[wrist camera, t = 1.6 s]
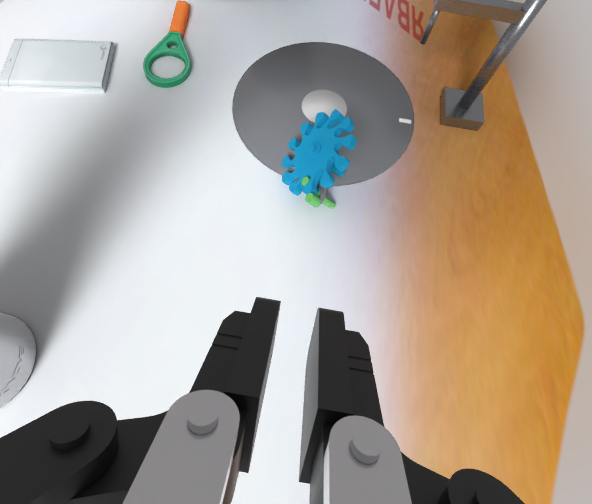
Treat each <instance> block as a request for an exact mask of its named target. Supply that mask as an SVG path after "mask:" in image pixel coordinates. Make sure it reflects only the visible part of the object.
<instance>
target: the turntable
mask: <svg viewBox="0 0 592 504" xmlns="http://www.w3.org/2000/svg"><path fill="white" fill-rule="evenodd" d="M335 109H336V110H338V111H339V112H340V113H341V114H342V115H343V116H344V119H345V118H346V117H349V118H350V119H351V120H352V121H353V122H354V130H353V131H351V132H349V133H347V132H342V133H341V134H340V135H339V137H338V138H342V137H345V136H347V135H350V134H351V135H353V136H354V137H355V138H356V139H357V143H356V146H355V148H354V149H353V150H348V149H347V148H346V147H345V146H341V147H340V148H339V151H338V152H339V155H340V156H344V157H345V158H347V159H348V160H349V161H350V164H349V166H348V167H347V168H346V169H345V174H344V175H343V176H342V177H339V176H338V175H336V174H335V173H334V172H332V171H331V174H332V177H333V178H334V180H335V182H334V185H332V186H342V185H350V184H354V183H359V182H363V181H365V180H368V179H370V178H373V177H375V176H377V175H379V174H381V173H382V172H384V171H385V170H387V169H388V168H390V167H391V166H392V165H393V164H394V163H395V162H396V161H397V160H398V159H399V158H400V157H401V156H402V154H403V153H404V151H405V150H406V148H407V146H408V144H409V142H410V140H411V136H412V133H413V127H414V112H413V107H412V103H411V100H410V98H409V95H408V93H407V91H406V89H405V88H404V86H403V85H402V83H401V82H400V80H399V79H398V78H397V77H396V76H395V75H394V74H393V72H392V71H390V70H389V69H388V68H387V67H386V66H385V65H383V64H382V63H381V62H379V61H378V60H376V59H375V58H373V57H371V56H369V55H367V54H365V53H363V52H361V51H358V50H356V49H353V48H350V47H347V46H343V45H338V44H332V43H323V42H309V43H299V44H293V45H289V46H285V47H282V48H279V49H277V50H274V51H272V52H270V53H268V54H266V55H264V56H263V57H261V58H260V59H259V60H257V61H256V62H255V63H254V64H253V65H251V66H250V67H249V68H248V70H247V71H246V72H245V73H244V74H243V76H242V78H241V79H240V81H239V83H238V85H237V87H236V90H235V93H234V98H233V109H232V110H233V118H234V123H235V126H236V129H237V132H238V134H239V136H240V138H241V140H242V141H243V143H244V144H245V146H246V147H247V149H248V150H249V151H250V152H251V153H252V154H253V155H254V156H255V157H256V158H257V159H258V160H259V161H260V162H262V163H263V164H264V165H265V166H267V167H268V168H270V169H272V170H273V171H275V172H277V173H279V174H281V175H283V173H285V172H289V173H292V172H293V171H294V170H295V167H291V168H289V169H286V168H285V167H283V166H282V165H281V163H282V160H283V158H284V156H289V157H290V158H292V159H294V158H295V156H296V153H295V151H293V150H292V149H290V148H289V147H288V143H289V142H290V141H291V139H292V138H293V137H294V138H296V139H297V140H298V141H300V144H301V142H302V132H301V131H300V126H301V125H303V124H304V123H306V122H309V123H310V124H311V125H312V126H313V127H314V125H315V117H316V115H317V113H320V112H324V113H326V114H327V115H328V116H329V117H330V115H331V113H332V112H333V111H334V110H335ZM344 119H343V120H344ZM339 124H340V123H339ZM339 124H336V125H334V126H333V127H336V126H337V125H339ZM299 179H300V177H299V178H297V179H295V181H298V180H299Z"/></svg>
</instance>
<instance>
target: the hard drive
mask: <svg viewBox="0 0 592 504" xmlns="http://www.w3.org/2000/svg"><path fill="white" fill-rule="evenodd" d="M114 50H115V46H114V44H113V42H103V41H75V40H44V39H14V41H13V43H12V46H11V49H10V51H9V54H8V57H7V59H6V62H5V65H4V67H3V70H2V73H1V76H0V88H1V89H2V90H3V91H40V92H90V93H105V91H106V87H107V82H108V78H109V73H110V69H111V64H112V60H113V55H114Z"/></svg>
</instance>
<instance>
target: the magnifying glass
mask: <svg viewBox="0 0 592 504" xmlns="http://www.w3.org/2000/svg"><path fill="white" fill-rule="evenodd" d="M189 11H190V5H189V4H188V3H187V2H185V1H178V2H177V4H176V8H175V12H174V15H173V19H172V23H171V27H170V30H169V33H168V34H167V35H166V36H165V37H164V38H163V39H162V40H161V41H160V42H159V43H158V44H157V45H156V46H155V47H154V48H153V49H152V50H151V51H150V52H149V53H148V54H147V56H146V57H145V59H144V63H143V68H144V71H145V75H146V77H147V79H148V80H149V81H150V82H151V83H152V84H154V85H156V86H159V87H173V86H176V85H179V84H181V83H182V82H183V81H185V80H186V79H187V77H188V76H189V74H190V72H191V62H190V59H189V56H188V54H187V51H186V49H185V46H184V44H183V41H182V38H183V35H184V32H185V27H186V23H187V19H188V15H189ZM170 46H177V47H176V48H173V49H170V48H169V47H170ZM164 56H175V57H178V58H180V59H182V60H183V61H184V63H185V64H186V66H185V69H184V71H183V72H182V73H181V74H180V75H178V76H176V77H174V78H169V79H163V78H158V77H156V76H154V75H153V74H152V73H151V72H150V67H151V65H152V63H153V62H154V61H155V60H157V59H158V58H160V57H164Z"/></svg>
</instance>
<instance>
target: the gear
mask: <svg viewBox="0 0 592 504" xmlns="http://www.w3.org/2000/svg"><path fill="white" fill-rule="evenodd" d="M343 119H344V116H343V115H342V114H341V113H340V112H339V111H338V110H336V109H335V110H334V111H333V112H332V113H331V115H330V117H329V116H328V115H327V114H326V113H324V112H320V113H317V115H316V117H315V125H314V127H313V126H312V125H311V124H310V123H309V122H306V123H304V124H303V125H301V126H300V131H301V132H302V142H301V144H300V141H298V140H297V139H296V138H294V137H293V138H292V139H291V141H290V142H289V143H288V147H289V148H290V149H292V150H293V151H295V153H296V156H295V158H294V159H292V158H290V157H289V156H284V158H283V160H282V163H281V165H282V166H283V167H285V168H286V169H289V168H291V167H295V170H294V171H293V172H292V173H289V172H285V173H283V176H282V181H283V183H285V184H287V185H290V184H291V183H292V182H293V181H294V180H295V179H297V178H299V177H300V179H299V180H298V181H296V182H293V183H292V184H291V185H290V186H289V189H290V191H291V192H292V193H294V194H295V195H297V196H298V195H299V194H300V193H301V191H302V189H303V192H304V193H305V194H307V196H306V198H305V200H306V202H308V203H309V204H311V205H313V206H314V207H317V206H319V205H320V204H321V203H323V204H325V205H327V206H328V207H330V208H334V207H335V203H334V202H332V201H331V200H329V199H328V198H326V191H327V188H329V187H331V186H332V185H334V182H335V180H334V178H333V177H332V174H331V171H332V172H334V173H335V174H336V175H338V176H339V177H342V176H343V175H344V174H345V169H346V168H347V167H348V166H349V164H350V161H349V160H348V159H347V158H345V157H344V156H340V155H339V152H338V151H339V148H340V147H341V146H345V147H346V148H347V149H348V150H353V149H354V148H355V146H356V143H357V139H356V138H355V137H354V136H353V135H351V134H350V135H347V136H345V137H342V138H338V137H339V135H340V134H341V133H342V132H347V133H349V132H351V131H353V130H354V122H353V121H352V120H351V119H350V118H349V117H346V118H345V119H344V120H343ZM339 123H340V124H339ZM336 124H339V125H337V126H336V127H333V126H334V125H336ZM303 187H304V188H303Z"/></svg>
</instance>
